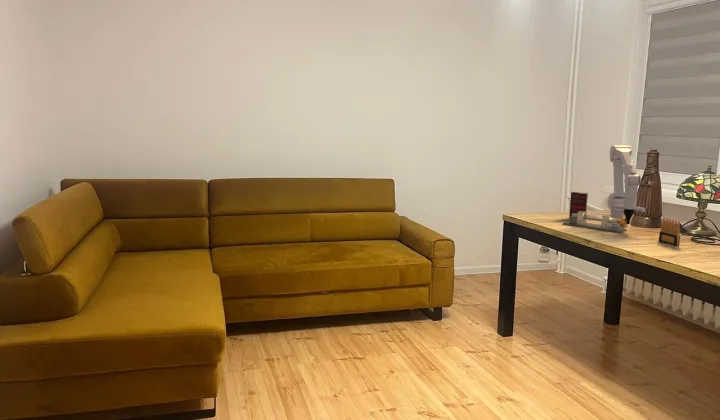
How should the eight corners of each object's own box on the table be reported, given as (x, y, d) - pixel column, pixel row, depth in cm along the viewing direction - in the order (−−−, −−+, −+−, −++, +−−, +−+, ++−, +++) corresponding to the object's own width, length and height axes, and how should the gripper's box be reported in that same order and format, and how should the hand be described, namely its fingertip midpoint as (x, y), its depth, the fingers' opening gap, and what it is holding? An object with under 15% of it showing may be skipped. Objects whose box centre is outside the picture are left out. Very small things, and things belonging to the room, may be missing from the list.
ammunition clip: (679, 246, 254) (682, 221, 252) (676, 246, 254) (679, 221, 252) (661, 241, 264) (664, 216, 262) (658, 241, 264) (661, 217, 262)
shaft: (574, 219, 305) (575, 210, 304) (627, 226, 286) (628, 217, 285) (570, 220, 302) (571, 211, 301) (623, 228, 283) (624, 218, 282)
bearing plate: (570, 222, 309) (571, 209, 308) (626, 230, 289) (628, 216, 288) (562, 224, 302) (564, 210, 301) (619, 233, 282) (621, 218, 280)
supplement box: (585, 220, 318) (588, 192, 315) (584, 221, 314) (586, 193, 311) (570, 218, 322) (572, 191, 320) (568, 219, 318) (570, 192, 316)
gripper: (612, 197, 283) (610, 222, 285) (643, 200, 273) (640, 227, 275) (618, 195, 288) (615, 221, 290) (647, 199, 278) (644, 225, 280)
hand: (627, 224), depth 283 cm, fingers closed
